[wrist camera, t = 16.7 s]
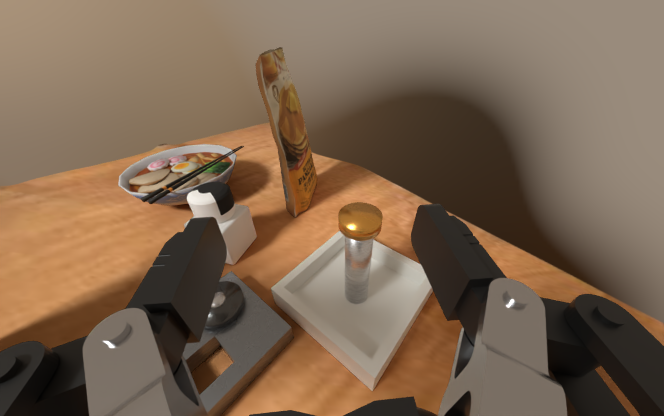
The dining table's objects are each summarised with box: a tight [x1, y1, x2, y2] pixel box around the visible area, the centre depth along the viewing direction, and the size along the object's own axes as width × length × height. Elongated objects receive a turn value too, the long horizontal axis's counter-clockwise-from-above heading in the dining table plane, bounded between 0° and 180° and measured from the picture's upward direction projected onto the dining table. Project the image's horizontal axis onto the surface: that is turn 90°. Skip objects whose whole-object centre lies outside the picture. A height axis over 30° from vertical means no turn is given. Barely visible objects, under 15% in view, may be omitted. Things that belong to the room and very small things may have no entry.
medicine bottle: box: [184, 182, 257, 265], centre depth 40 cm, size 7×7×12 cm
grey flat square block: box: [183, 271, 294, 416], centre depth 29 cm, size 13×13×4 cm
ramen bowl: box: [119, 144, 244, 205], centre depth 55 cm, size 25×23×8 cm
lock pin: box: [339, 202, 382, 304], centre depth 30 cm, size 5×5×14 cm
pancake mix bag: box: [256, 47, 317, 217], centre depth 48 cm, size 7×19×28 cm, turn 172°
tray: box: [271, 231, 433, 391], centre depth 34 cm, size 16×16×4 cm
